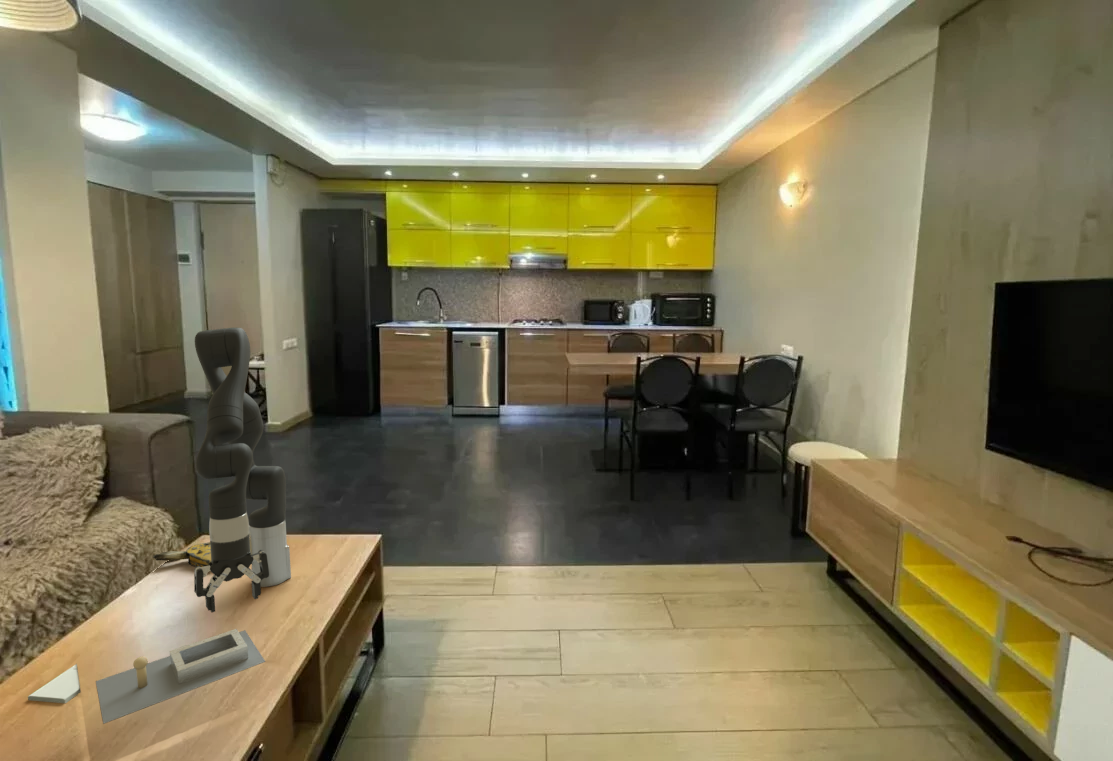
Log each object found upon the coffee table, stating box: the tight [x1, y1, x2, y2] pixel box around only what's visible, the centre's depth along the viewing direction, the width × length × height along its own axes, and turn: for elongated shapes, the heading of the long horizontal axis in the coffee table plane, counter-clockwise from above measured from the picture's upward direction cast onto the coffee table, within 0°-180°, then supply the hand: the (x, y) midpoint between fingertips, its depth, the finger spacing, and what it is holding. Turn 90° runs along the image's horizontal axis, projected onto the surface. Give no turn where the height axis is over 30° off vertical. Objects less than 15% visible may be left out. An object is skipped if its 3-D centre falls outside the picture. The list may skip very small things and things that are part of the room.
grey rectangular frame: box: [169, 628, 248, 684], centre depth 125 cm, size 13×9×3 cm
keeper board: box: [95, 629, 266, 724], centre depth 122 cm, size 28×16×7 cm, turn 132°
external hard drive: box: [27, 663, 82, 704], centre depth 120 cm, size 2×8×12 cm
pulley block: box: [152, 541, 251, 567], centre depth 175 cm, size 14×6×30 cm
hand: (234, 604), depth 128 cm, fingers open, 8 cm apart
